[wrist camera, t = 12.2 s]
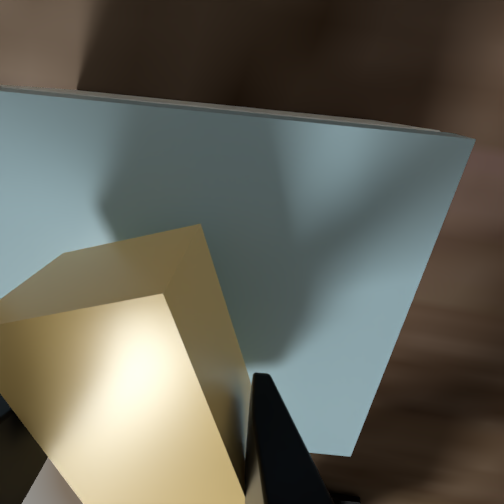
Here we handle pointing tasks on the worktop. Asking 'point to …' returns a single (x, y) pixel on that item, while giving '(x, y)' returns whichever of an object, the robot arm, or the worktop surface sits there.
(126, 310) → the tan rectangular prism
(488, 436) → the worktop surface
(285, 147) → the lid
